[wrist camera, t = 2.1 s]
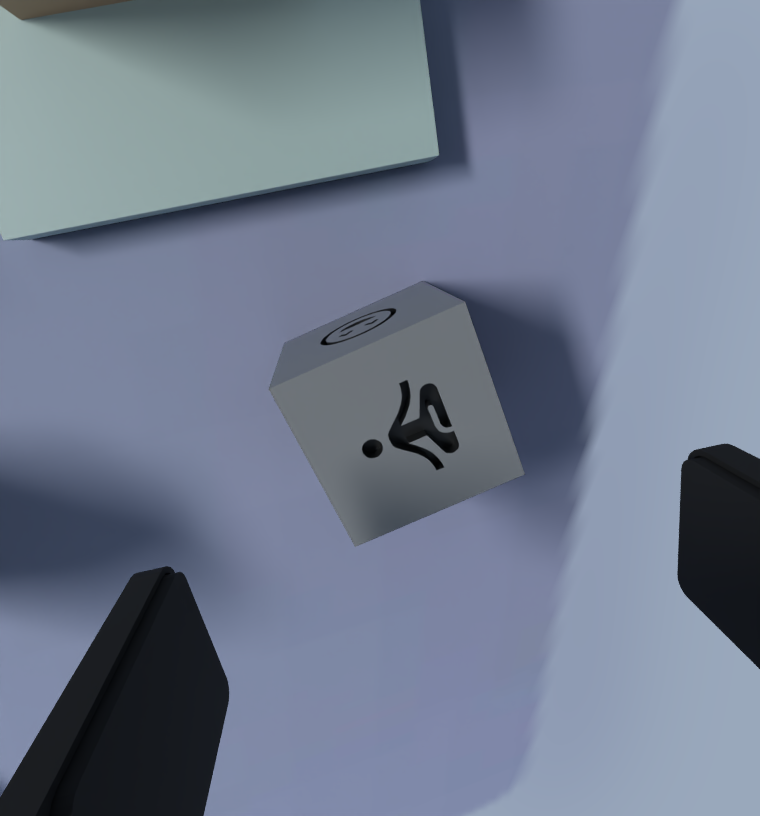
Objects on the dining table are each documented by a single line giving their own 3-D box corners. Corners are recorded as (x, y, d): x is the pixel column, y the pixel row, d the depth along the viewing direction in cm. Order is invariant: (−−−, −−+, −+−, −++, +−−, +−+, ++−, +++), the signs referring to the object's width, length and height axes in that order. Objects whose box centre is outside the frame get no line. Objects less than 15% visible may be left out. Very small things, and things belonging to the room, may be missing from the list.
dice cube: (470, 409, 17) (524, 474, 13) (346, 463, 18) (355, 547, 13) (422, 280, 16) (464, 301, 11) (284, 342, 16) (268, 388, 11)
